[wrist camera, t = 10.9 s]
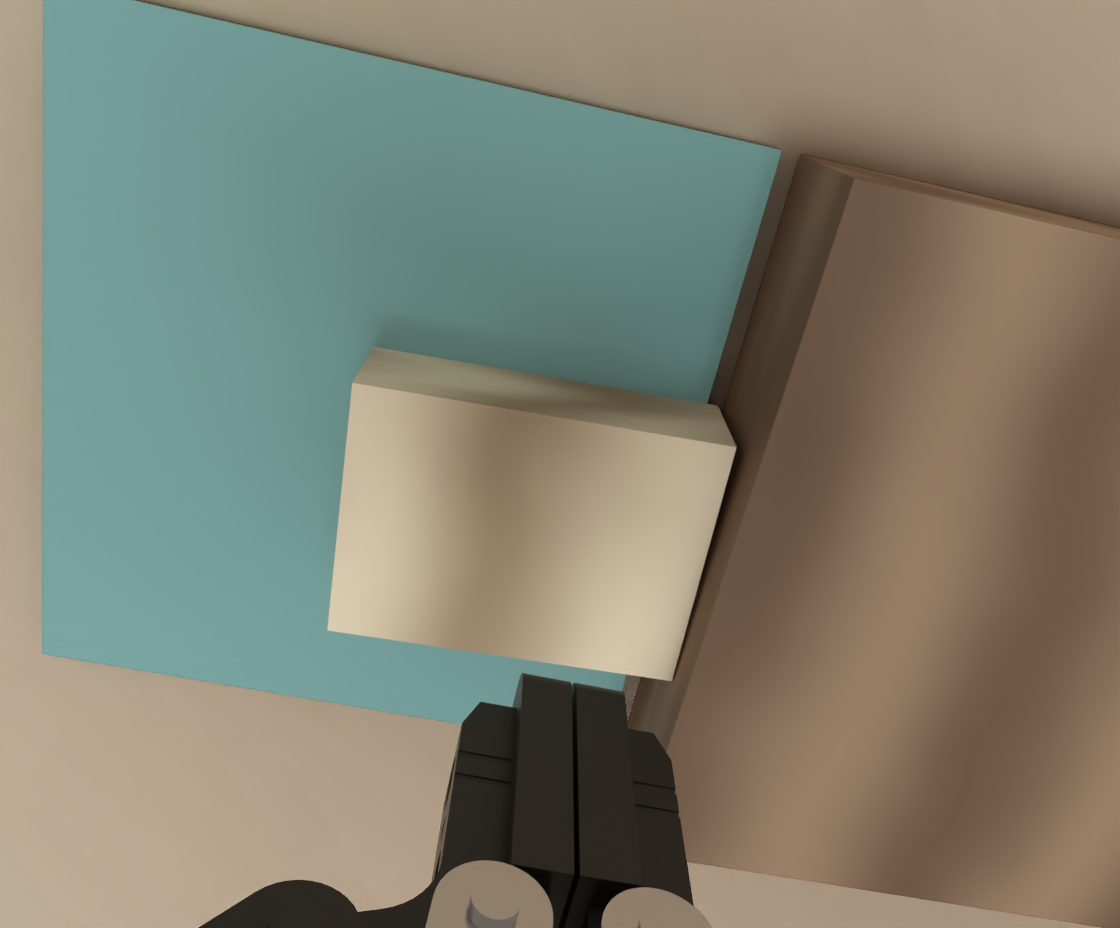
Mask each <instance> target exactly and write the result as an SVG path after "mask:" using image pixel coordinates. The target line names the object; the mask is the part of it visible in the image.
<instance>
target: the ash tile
mask: <svg viewBox="0 0 1120 928" xmlns="http://www.w3.org/2000/svg"><path fill="white" fill-rule="evenodd" d="M736 448H737V447H736V445H735V443H734V440H733V438H732V436H731V434H730V431H729V429H728V427H727V425H726V423H725V420H724V418H723V416H722V414H721V412H720V409H719V407H718V406H717V405H711V404H705V403H699V402H694V401H688V400H682V399H676V398H670V397H664V396H659V395H653V394H647V393H641V392H635V391H629V390H624V389H618V388H612V387H606V386H600V385H594V384H588V383H583V382H577V381H571V380H565V379H559V378H553V377H548V376H542V375H536V374H530V373H524V372H518V371H513V370H507V369H501V368H495V367H489V366H483V365H478V364H472V363H466V362H460V361H454V360H448V359H442V358H437V357H431V356H425V355H419V354H413V353H407V352H402V351H396V350H390V349H384V348H378V347H373V348H372V350H371V351H370V353H369V355H368V357H367V358H366V360H365V362H364V363H363V365H362V367H361V369H360V370H359V372H358V374H357V375H356V377H355V379H354V381H353V382H352V390H351V400H350V410H349V420H348V430H347V440H346V450H345V460H344V469H343V479H342V489H341V499H340V509H339V519H338V529H337V539H336V549H335V559H334V568H333V578H332V588H331V598H330V608H329V618H328V628H327V630H328V631H334V632H341V633H348V634H355V635H361V636H368V637H375V638H382V639H389V640H395V641H402V642H409V643H416V644H423V645H429V646H436V647H443V648H450V649H457V650H463V651H470V652H477V653H484V654H490V655H497V656H504V657H511V658H518V659H524V660H531V661H538V662H545V663H552V664H558V665H565V666H572V667H579V668H586V669H592V670H599V671H606V672H613V673H619V674H626V675H633V676H640V677H647V678H653V679H660V680H667V681H672V678H673V675H674V671H675V668H676V664H677V660H678V657H679V653H680V650H681V646H682V642H683V639H684V635H685V632H686V628H687V624H688V621H689V617H690V614H691V610H692V606H693V603H694V599H695V596H696V592H697V588H698V585H699V581H700V578H701V574H702V570H703V567H704V563H705V560H706V556H707V552H708V549H709V545H710V542H711V538H712V534H713V531H714V527H715V524H716V520H717V516H718V513H719V509H720V506H721V502H722V498H723V495H724V491H725V488H726V484H727V480H728V477H729V473H730V470H731V466H732V462H733V459H734V455H735V452H736Z"/></svg>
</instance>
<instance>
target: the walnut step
mask: <svg viewBox="0 0 1120 928" xmlns="http://www.w3.org/2000/svg"><path fill="white" fill-rule="evenodd" d="M722 416H723V418H724V420H725V423H726V425H727V427H728V429H729V431H730V434H731V436H732V438H733V440H734V443H735V445H736V447H737V448H736V452H735V455H734V459H733V462H732V466H731V470H730V473H729V477H728V480H727V484H726V488H725V491H724V495H723V498H722V502H721V506H720V509H719V513H718V516H717V520H716V524H715V527H714V531H713V534H712V538H711V542H710V545H709V549H708V552H707V556H706V560H705V563H704V567H703V570H702V574H701V578H700V581H699V585H698V588H697V592H696V596H695V599H694V603H693V606H692V610H691V614H690V617H689V621H688V624H687V628H686V632H685V635H684V639H683V642H682V646H681V650H680V653H679V657H678V660H677V664H676V668H675V671H674V675H673V678H672V681H667V680H660V679H653V678H647V677H641V681H640V684H639V687H638V691H637V694H636V697H635V701H634V704H633V707H632V710H631V714H630V717H629V720H628V724H627V725H628V729H634V730H639V731H645V732H650V733H654V734H655V736H656V738H657V739H658V741H659V742H660V744H661V745H662V747H663V748H664V750H665V751H666V753H667V754H668V756H669V757H670V759H671V761H672V767H673V774H674V781H675V787H676V789H675V794H677V800H678V807H679V818H680V820H681V827H682V833H683V840H684V847H685V853H686V860H687V862H692V863H698V864H705V865H711V866H717V867H724V868H730V869H736V870H743V871H749V872H755V873H761V874H768V875H774V876H780V877H787V878H793V879H799V880H806V881H812V882H818V883H825V884H831V885H837V886H843V887H850V888H856V889H862V890H869V891H875V892H881V893H888V894H894V895H900V896H907V897H913V898H919V899H925V900H932V901H938V902H944V903H951V904H957V905H963V906H970V907H976V908H982V909H989V910H995V911H1001V912H1007V913H1014V914H1020V915H1026V916H1033V917H1039V918H1045V919H1052V920H1058V921H1064V922H1071V923H1077V924H1083V925H1090V926H1096V927H1102V928H1120V228H1119V227H1114V226H1110V225H1106V224H1101V223H1097V222H1093V221H1088V220H1084V219H1080V218H1075V217H1071V216H1067V215H1062V214H1058V213H1054V212H1050V211H1045V210H1041V209H1037V208H1032V207H1028V206H1024V205H1019V204H1015V203H1011V202H1006V201H1002V200H998V199H993V198H989V197H985V196H980V195H976V194H972V193H967V192H963V191H959V190H954V189H950V188H946V187H941V186H937V185H933V184H929V183H924V182H920V181H916V180H911V179H907V178H903V177H898V176H894V175H890V174H885V173H881V172H877V171H872V170H868V169H864V168H859V167H855V166H851V165H846V164H842V163H838V162H833V161H829V160H825V159H820V158H816V157H812V156H808V155H803V154H800V157H799V160H798V163H797V167H796V170H795V173H794V177H793V180H792V183H791V187H790V190H789V193H788V196H787V200H786V203H785V206H784V210H783V213H782V216H781V219H780V223H779V226H778V229H777V233H776V236H775V239H774V243H773V246H772V249H771V252H770V256H769V259H768V262H767V266H766V269H765V272H764V275H763V279H762V282H761V285H760V289H759V292H758V295H757V299H756V302H755V305H754V308H753V312H752V315H751V318H750V322H749V325H748V328H747V332H746V335H745V338H744V341H743V345H742V348H741V351H740V355H739V358H738V361H737V364H736V368H735V371H734V374H733V378H732V381H731V384H730V388H729V391H728V394H727V397H726V401H725V404H724V407H723V411H722Z"/></svg>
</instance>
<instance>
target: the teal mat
mask: <svg viewBox="0 0 1120 928" xmlns="http://www.w3.org/2000/svg"><path fill="white" fill-rule="evenodd" d="M781 153H782V150H780V149H777V148H773V147H769V146H764V145H760V144H756V143H751V142H747V141H743V140H738V139H734V138H730V137H725V136H721V135H717V134H712V133H708V132H704V131H699V130H695V129H691V128H687V127H682V126H678V125H674V124H669V123H665V122H661V121H656V120H652V119H648V118H643V117H639V116H635V115H630V114H626V113H622V112H617V111H613V110H609V109H604V108H600V107H596V106H591V105H587V104H583V103H578V102H574V101H570V100H566V99H561V98H557V97H553V96H548V95H544V94H540V93H535V92H531V91H527V90H522V89H518V88H514V87H509V86H505V85H501V84H496V83H492V82H488V81H483V80H479V79H475V78H470V77H466V76H462V75H457V74H453V73H449V72H445V71H440V70H436V69H432V68H427V67H423V66H419V65H414V64H410V63H406V62H401V61H397V60H393V59H388V58H384V57H380V56H375V55H371V54H367V53H362V52H358V51H354V50H349V49H345V48H341V47H336V46H332V45H328V44H324V43H319V42H315V41H311V40H306V39H302V38H298V37H293V36H289V35H285V34H280V33H276V32H272V31H267V30H263V29H259V28H254V27H250V26H246V25H241V24H237V23H233V22H228V21H224V20H220V19H215V18H211V17H207V16H203V15H198V14H194V13H190V12H185V11H181V10H177V9H172V8H168V7H164V6H159V5H155V4H151V3H146V2H142V1H138V0H43V493H42V654H46V655H52V656H58V657H64V658H70V659H76V660H82V661H88V662H94V663H99V664H105V665H111V666H117V667H123V668H129V669H135V670H141V671H147V672H153V673H159V674H165V675H171V676H177V677H183V678H189V679H194V680H200V681H206V682H212V683H218V684H224V685H230V686H236V687H242V688H248V689H254V690H260V691H266V692H272V693H278V694H284V695H290V696H295V697H301V698H307V699H313V700H319V701H325V702H331V703H337V704H343V705H349V706H355V707H361V708H367V709H373V710H379V711H385V712H390V713H396V714H402V715H408V716H414V717H420V718H426V719H432V720H438V721H444V722H450V723H456V724H462V722H463V721H464V720H465V719H466V718H467V717H468V715H469V714H470V713H471V712H472V711H473V710H474V708H475V707H476V706H477V705H478V704H479V703H480V702H486V703H491V704H497V705H502V706H508V707H512V706H513V702H514V698H515V694H516V690H517V686H518V682H519V679H520V676H521V674H522V673H526V674H531V675H537V676H542V677H547V678H553V679H558V680H563V681H569V682H571V684H572V685H573V683H574V682H575V683H580V684H586V685H591V686H596V687H602V688H607V689H612V690H618V691H622V690H623V687H624V683H625V680H626V677H627V675H626V674H619V673H613V672H606V671H599V670H592V669H586V668H579V667H572V666H565V665H558V664H552V663H545V662H538V661H531V660H524V659H518V658H511V657H504V656H497V655H490V654H484V653H477V652H470V651H463V650H457V649H450V648H443V647H436V646H429V645H423V644H416V643H409V642H402V641H395V640H389V639H382V638H375V637H368V636H361V635H355V634H348V633H341V632H334V631H328V630H327V628H328V618H329V608H330V598H331V588H332V578H333V568H334V559H335V549H336V539H337V529H338V519H339V509H340V499H341V489H342V479H343V469H344V460H345V450H346V440H347V430H348V420H349V410H350V400H351V390H352V382H353V381H354V379H355V377H356V375H357V374H358V372H359V370H360V369H361V367H362V365H363V363H364V362H365V360H366V358H367V357H368V355H369V353H370V351H371V350H372V348H373V347H378V348H384V349H390V350H396V351H402V352H407V353H413V354H419V355H425V356H431V357H437V358H442V359H448V360H454V361H460V362H466V363H472V364H478V365H483V366H489V367H495V368H501V369H507V370H513V371H518V372H524V373H530V374H536V375H542V376H548V377H553V378H559V379H565V380H571V381H577V382H583V383H588V384H594V385H600V386H606V387H612V388H618V389H624V390H629V391H635V392H641V393H647V394H653V395H659V396H664V397H670V398H676V399H682V400H688V401H694V402H699V403H705V404H707V403H708V399H709V396H710V393H711V389H712V386H713V382H714V379H715V376H716V372H717V369H718V366H719V362H720V359H721V355H722V352H723V349H724V345H725V342H726V338H727V335H728V332H729V328H730V325H731V322H732V318H733V315H734V311H735V308H736V305H737V301H738V298H739V295H740V291H741V288H742V284H743V281H744V278H745V274H746V271H747V267H748V264H749V261H750V257H751V254H752V251H753V247H754V244H755V240H756V237H757V234H758V230H759V227H760V224H761V220H762V217H763V213H764V210H765V207H766V203H767V200H768V196H769V193H770V190H771V186H772V183H773V180H774V176H775V173H776V169H777V166H778V163H779V159H780V156H781Z"/></svg>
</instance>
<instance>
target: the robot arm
mask: <svg viewBox="0 0 1120 928" xmlns="http://www.w3.org/2000/svg"><path fill="white" fill-rule="evenodd" d="M675 789H676V787H675V781H674V774H673V767H672V761H671V759H670V757H669V756H668V754H667V753H666V751H665V750H664V748H663V747H662V745H661V744H660V742H659V741H658V739H657V738H656V736H655V734H654V733H650V732H645V731H639V730H634V729H628V725H627V714H626V704H625V695H624V692H623V691H618V690H612V689H607V688H602V687H596V686H591V685H586V684H580V683H575V682H574V683H573V685H572V684H571V682H569V681H563V680H558V679H553V678H547V677H542V676H537V675H531V674H526V673H522V674H521V676H520V679H519V682H518V686H517V690H516V694H515V698H514V702H513V706H512V707H508V706H502V705H497V704H491V703H486V702H480V703H479V704H478V705H477V706H476V707H475V708H474V710H473V711H472V712H471V713H470V714H469V715H468V717H467V718H466V719H465V720H464V721H463V722H462V726H461V731H460V735H459V740H458V744H457V749H456V753H455V758H454V762H453V766H452V771H451V775H450V780H449V784H448V789H447V793H446V797H445V802H444V807H443V814H442V820H441V826H440V832H439V833H440V834H439V839H438V845H437V851H436V859H435V864H434V870H433V877H432V883H431V884H430V885H429V886H428V887H427V888H426V889H425V890H424V891H423V892H422V893H421V894H419V895H418V896H416V897H415V898H413V899H411V900H409V901H407V902H405V903H403V904H400V905H397V906H394V907H390V908H385V909H378V910H371V911H363V912H357V910H356V908H355V907H354V905H353V904H352V903H351V902H350V901H349V899H348V898H347V897H345V896H344V895H343V894H342V893H340V892H339V891H337V890H335V889H334V888H332V887H330V886H327V885H324V884H322V883H318V882H313V881H307V880H291V881H284V882H279V883H275V884H272V885H269V886H266V887H264V888H262V889H260V890H259V891H257V892H255V893H253V894H252V895H250V896H248V897H247V898H245V899H244V900H242V901H240V902H239V903H237V904H236V905H234V906H232V907H231V908H229V909H228V910H226V911H224V912H223V913H221V914H220V915H218V916H216V917H215V918H213V919H212V920H210V921H208V922H207V923H205V924H204V925H202V926H201V927H199V928H712V927H711V926H710V924H709V923H708V921H707V920H706V919H705V917H704V916H703V915H702V914H701V913H700V912H699V911H698V910H697V909H696V908H695V907H694V905H693V899H692V893H691V886H690V880H689V873H688V866H687V860H686V853H685V847H684V840H683V833H682V827H681V820H680V818H679V807H678V800H677V794H675Z"/></svg>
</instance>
